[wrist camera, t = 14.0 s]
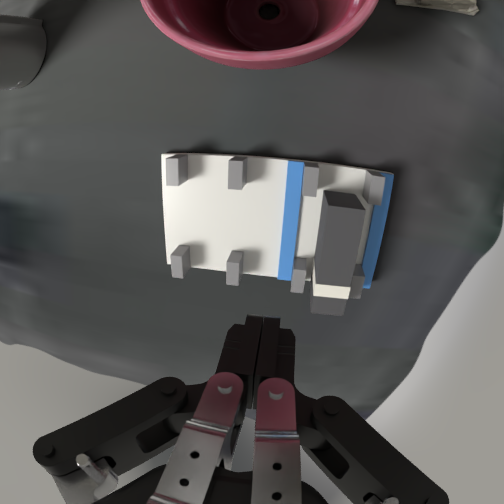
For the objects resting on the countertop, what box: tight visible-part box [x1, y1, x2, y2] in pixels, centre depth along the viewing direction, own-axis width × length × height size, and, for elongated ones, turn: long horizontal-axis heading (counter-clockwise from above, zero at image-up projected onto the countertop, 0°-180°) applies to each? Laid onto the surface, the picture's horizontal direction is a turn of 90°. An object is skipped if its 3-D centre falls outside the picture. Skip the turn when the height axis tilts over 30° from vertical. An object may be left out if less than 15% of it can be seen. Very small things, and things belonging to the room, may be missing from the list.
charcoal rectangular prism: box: [310, 190, 366, 316], centre depth 27 cm, size 10×3×5 cm, turn 177°
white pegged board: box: [162, 153, 394, 299], centre depth 28 cm, size 12×22×4 cm, turn 87°
